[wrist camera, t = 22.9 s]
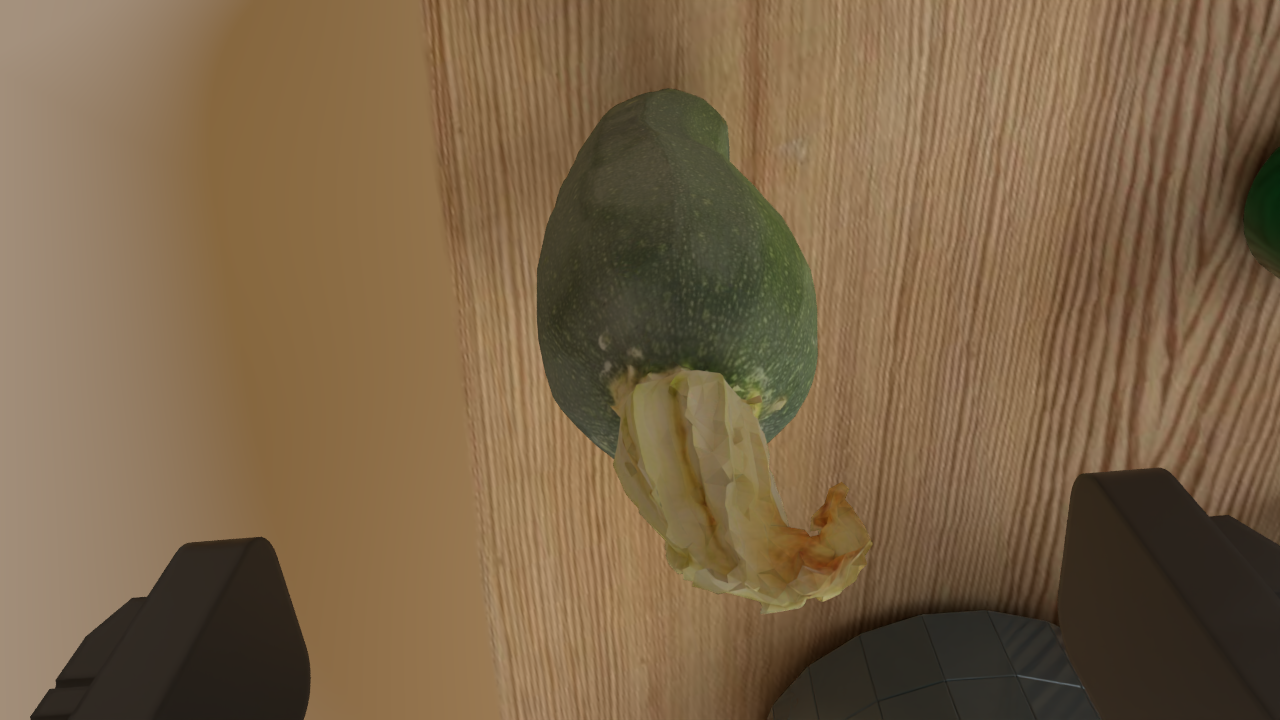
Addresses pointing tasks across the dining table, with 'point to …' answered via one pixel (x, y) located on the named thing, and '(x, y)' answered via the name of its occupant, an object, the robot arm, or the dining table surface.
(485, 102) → the dining table surface
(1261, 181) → the soda can
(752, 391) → the vegetable
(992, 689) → the bowl
